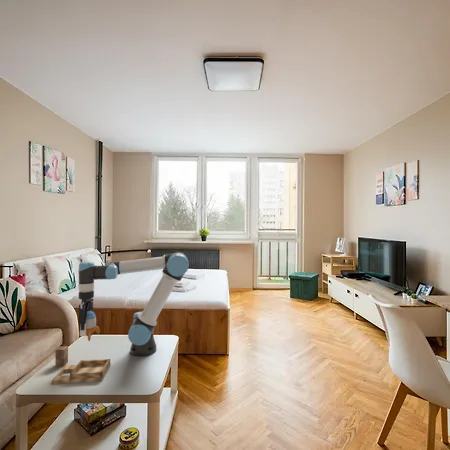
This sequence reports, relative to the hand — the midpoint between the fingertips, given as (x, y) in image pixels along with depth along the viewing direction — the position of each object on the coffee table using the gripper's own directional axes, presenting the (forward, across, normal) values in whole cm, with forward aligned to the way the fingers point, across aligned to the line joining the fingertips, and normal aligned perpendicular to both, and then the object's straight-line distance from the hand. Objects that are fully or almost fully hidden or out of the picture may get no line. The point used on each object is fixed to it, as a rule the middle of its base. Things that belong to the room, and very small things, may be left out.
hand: (86, 332), depth 157 cm
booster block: (+17, -1, -13) cm, 22 cm away
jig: (+17, +11, +2) cm, 20 cm away
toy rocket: (+3, -1, 0) cm, 3 cm away
